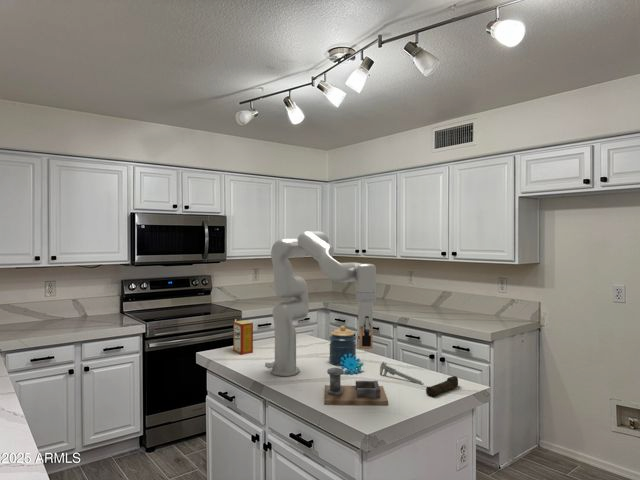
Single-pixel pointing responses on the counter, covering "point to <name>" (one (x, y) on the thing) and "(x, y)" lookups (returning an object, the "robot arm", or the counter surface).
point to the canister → (341, 345)
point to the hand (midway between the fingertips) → (365, 343)
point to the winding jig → (353, 391)
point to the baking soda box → (243, 337)
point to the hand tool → (442, 386)
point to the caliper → (397, 373)
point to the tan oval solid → (361, 338)
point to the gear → (351, 363)
